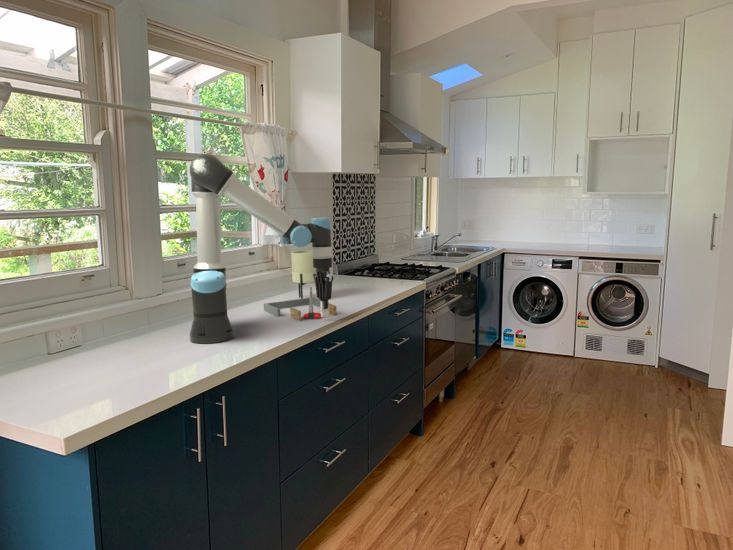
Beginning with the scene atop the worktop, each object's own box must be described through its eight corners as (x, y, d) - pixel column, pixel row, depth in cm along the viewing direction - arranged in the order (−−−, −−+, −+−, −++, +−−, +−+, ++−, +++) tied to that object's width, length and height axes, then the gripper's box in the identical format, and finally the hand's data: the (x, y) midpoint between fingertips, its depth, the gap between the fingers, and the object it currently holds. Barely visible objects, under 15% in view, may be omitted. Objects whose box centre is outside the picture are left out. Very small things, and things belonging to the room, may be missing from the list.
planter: (287, 302, 266) (284, 253, 262) (301, 295, 280) (299, 249, 277) (316, 303, 261) (314, 253, 257) (329, 297, 275) (328, 250, 272)
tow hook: (306, 315, 238) (300, 319, 228) (306, 284, 236) (300, 287, 227) (326, 315, 236) (321, 319, 227) (325, 284, 235) (320, 287, 226)
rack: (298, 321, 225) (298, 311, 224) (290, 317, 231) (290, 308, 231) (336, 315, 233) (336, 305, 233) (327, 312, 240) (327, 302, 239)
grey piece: (278, 316, 234) (277, 309, 233) (264, 310, 247) (263, 303, 247) (329, 309, 246) (329, 302, 246) (313, 303, 260) (313, 297, 259)
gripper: (338, 258, 217) (340, 318, 220) (323, 255, 228) (325, 312, 231) (321, 259, 213) (323, 320, 216) (306, 256, 224) (309, 315, 227)
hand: (324, 316), depth 224 cm, fingers closed
